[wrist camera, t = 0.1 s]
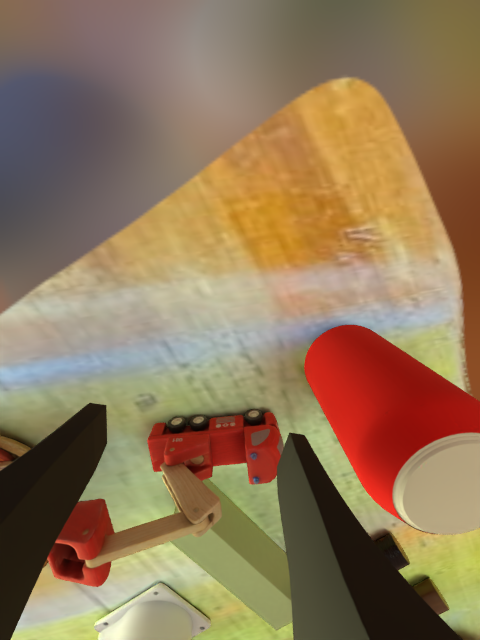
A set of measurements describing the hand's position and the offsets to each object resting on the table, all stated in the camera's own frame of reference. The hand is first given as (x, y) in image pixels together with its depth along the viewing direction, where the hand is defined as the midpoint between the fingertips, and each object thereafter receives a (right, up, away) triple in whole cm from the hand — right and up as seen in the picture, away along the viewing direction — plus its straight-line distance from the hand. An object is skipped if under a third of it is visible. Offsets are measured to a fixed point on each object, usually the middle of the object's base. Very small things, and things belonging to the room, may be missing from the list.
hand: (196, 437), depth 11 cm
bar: (+2, -15, +15) cm, 22 cm away
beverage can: (+9, +2, +11) cm, 15 cm away
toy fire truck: (-2, -5, +12) cm, 13 cm away
